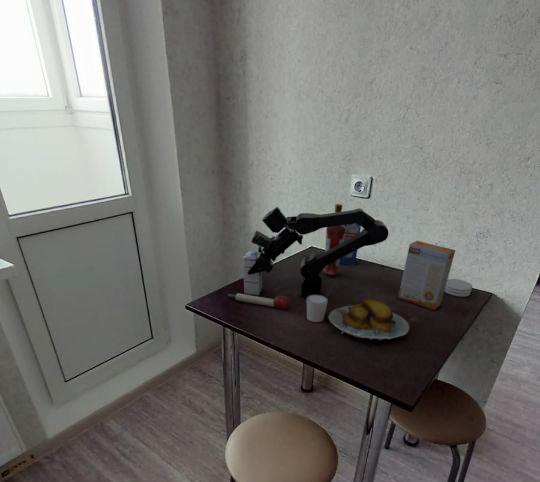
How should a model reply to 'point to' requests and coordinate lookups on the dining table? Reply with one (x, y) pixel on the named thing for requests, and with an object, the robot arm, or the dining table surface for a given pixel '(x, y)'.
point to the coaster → (458, 288)
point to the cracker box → (426, 274)
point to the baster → (263, 300)
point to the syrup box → (252, 275)
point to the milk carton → (350, 232)
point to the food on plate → (369, 320)
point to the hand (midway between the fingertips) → (249, 270)
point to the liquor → (334, 243)
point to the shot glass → (316, 308)
